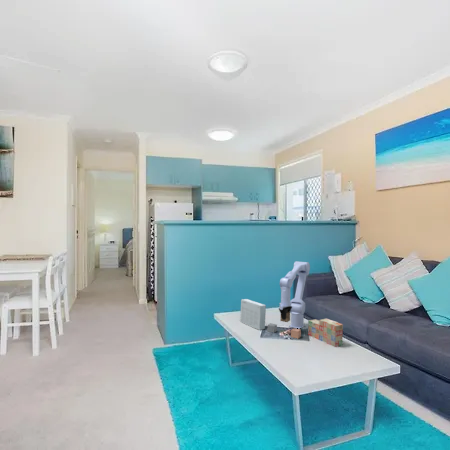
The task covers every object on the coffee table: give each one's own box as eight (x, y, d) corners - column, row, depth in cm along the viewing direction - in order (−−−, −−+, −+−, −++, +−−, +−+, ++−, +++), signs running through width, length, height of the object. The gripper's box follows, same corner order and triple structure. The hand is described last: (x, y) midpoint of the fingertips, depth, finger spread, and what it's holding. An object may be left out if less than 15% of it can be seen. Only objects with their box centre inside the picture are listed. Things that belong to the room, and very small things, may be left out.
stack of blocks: (307, 335, 198) (308, 315, 198) (315, 333, 201) (315, 314, 201) (335, 347, 179) (335, 325, 179) (342, 345, 182) (343, 323, 182)
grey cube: (270, 330, 206) (270, 323, 206) (276, 331, 204) (276, 324, 204) (267, 332, 202) (267, 325, 202) (273, 333, 200) (273, 326, 200)
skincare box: (265, 329, 208) (266, 304, 208) (259, 330, 205) (259, 306, 205) (246, 320, 225) (246, 298, 225) (239, 321, 222) (240, 299, 222)
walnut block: (283, 319, 203) (283, 310, 203) (290, 320, 201) (290, 311, 201) (280, 320, 200) (280, 312, 200) (287, 322, 197) (287, 313, 197)
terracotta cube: (293, 335, 197) (293, 328, 197) (300, 336, 195) (300, 329, 195) (291, 337, 194) (291, 330, 194) (298, 339, 191) (298, 331, 191)
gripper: (284, 294, 208) (284, 314, 208) (275, 298, 196) (274, 320, 196) (294, 295, 204) (294, 316, 205) (285, 299, 192) (285, 322, 192)
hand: (285, 318), depth 200 cm, fingers closed on walnut block, 4 cm apart
